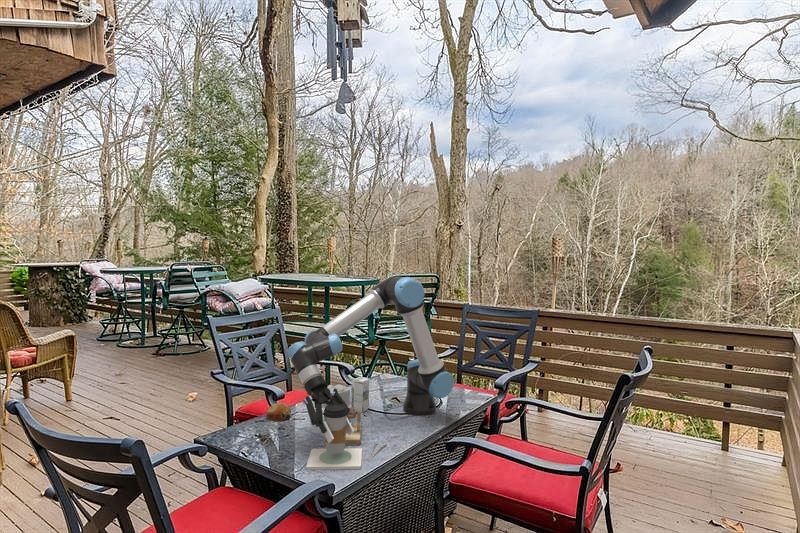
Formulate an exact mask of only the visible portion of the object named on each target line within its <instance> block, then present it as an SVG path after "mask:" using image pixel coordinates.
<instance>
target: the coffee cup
mask: <svg viewBox="0 0 800 533" xmlns="http://www.w3.org/2000/svg"><path fill="white" fill-rule="evenodd" d="M323 409H324V410H323V412H322V415H323V422H324V421H326V423H327V425H328V427H329V429H330V431H331V433H332V435H333V437H334V439H333V440H332V441H331V442H330V443H328V441H327V439H326V437H325V436H324V442H325V449H326V451H327V452H328V453H330V454H339V453H341V452H343V450H344V448H345V446H346V445H345V438H346V426H347V424H346V422H347V414H348V413H347V409H346V406H345V405H342V404H330V405H327V406H326V407H325V408H323Z"/></svg>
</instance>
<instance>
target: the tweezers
mask: <svg viewBox="0 0 800 533" xmlns="http://www.w3.org/2000/svg"><path fill="white" fill-rule="evenodd" d="M377 445H379V442H374V443H373V446H372V450H371V453H370V456H369V458H368V460H369V461H371V460H372V459H373V458H374V457H375V456H376V455H377V454H378V453H379V452H380V451H381V450H382V449H384V448H385V447H386V446H387V443H383V444H382V445H381V446H380V447H379V448H378V449H377V451H375V448H376V446H377ZM384 446H385V447H384ZM374 451H375V453H374ZM373 453H374V454H373Z"/></svg>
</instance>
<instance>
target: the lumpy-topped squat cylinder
mask: <svg viewBox="0 0 800 533" xmlns="http://www.w3.org/2000/svg"><path fill="white" fill-rule="evenodd" d="M327 388H328V389H329V390H334V389H337V391H338V394H339V395H340V397H341V398H342V399H343V401H345V403H346V405H347V406H350V405H351V389H350V387H347V386H346V385H342V384H336V385H333V384H329V385H327ZM329 401H330V399H329ZM326 406H327V404H322V409H325V407H326Z"/></svg>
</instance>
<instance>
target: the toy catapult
mask: <svg viewBox="0 0 800 533" xmlns="http://www.w3.org/2000/svg"><path fill="white" fill-rule="evenodd" d="M349 409H350V411H349V412H348V414H347V415H348V417H349V419H350V420H354V419H356V423H350V424H351V425H352V427H353V429H354V432H353V433H352V434H351V435H349V434H348V433H347V431H346V438H345V446H361V445H360V444H361V435H362V423H361V413H360V410H357V411H355V409H354V408H353V407H352V406H351V407H349Z"/></svg>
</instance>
